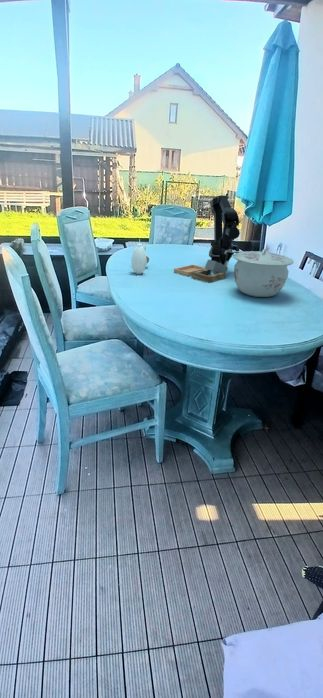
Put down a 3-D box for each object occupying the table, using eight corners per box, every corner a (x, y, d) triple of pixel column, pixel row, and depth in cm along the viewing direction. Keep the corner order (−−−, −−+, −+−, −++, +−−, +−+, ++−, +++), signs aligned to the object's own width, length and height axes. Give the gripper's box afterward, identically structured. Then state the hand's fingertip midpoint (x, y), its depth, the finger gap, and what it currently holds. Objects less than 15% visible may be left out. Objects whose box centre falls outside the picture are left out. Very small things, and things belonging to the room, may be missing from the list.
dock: (207, 273, 210) (208, 268, 209) (225, 278, 203) (225, 272, 202) (191, 278, 200) (191, 272, 198) (209, 282, 193) (209, 277, 192)
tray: (192, 268, 220) (192, 264, 219) (206, 271, 214) (206, 268, 213) (173, 272, 208) (174, 268, 208) (188, 276, 203) (188, 272, 202)
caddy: (217, 273, 211) (221, 259, 210) (224, 275, 208) (229, 261, 206) (204, 268, 202) (209, 253, 201) (212, 270, 199) (218, 255, 197)
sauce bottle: (139, 276, 198) (140, 240, 190) (128, 273, 202) (128, 238, 194) (149, 273, 203) (150, 239, 196) (137, 271, 207) (138, 237, 200)
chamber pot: (244, 303, 165) (251, 255, 157) (219, 285, 189) (224, 243, 180) (299, 301, 173) (309, 255, 164) (269, 284, 197) (276, 243, 188)
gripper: (224, 232, 213) (221, 260, 220) (204, 235, 200) (201, 264, 207) (241, 235, 207) (237, 264, 213) (222, 238, 194) (218, 268, 200)
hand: (223, 265), depth 209 cm, fingers closed on caddy, 2 cm apart
